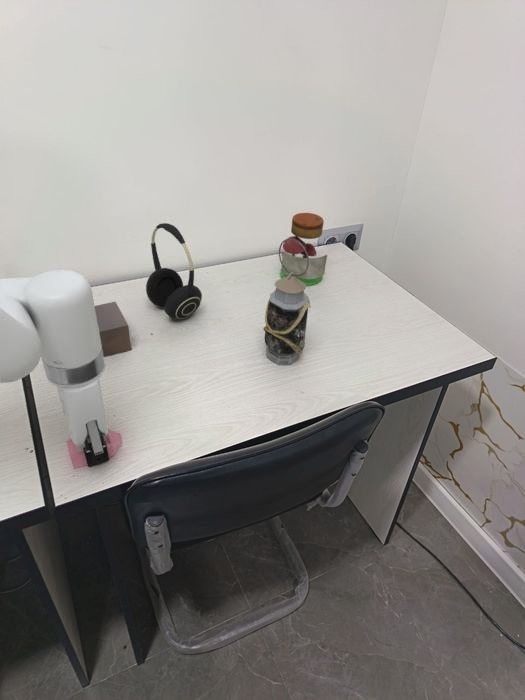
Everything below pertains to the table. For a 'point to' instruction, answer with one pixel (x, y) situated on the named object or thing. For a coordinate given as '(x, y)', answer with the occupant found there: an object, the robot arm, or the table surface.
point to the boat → (77, 451)
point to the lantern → (286, 318)
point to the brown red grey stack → (307, 229)
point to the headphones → (172, 283)
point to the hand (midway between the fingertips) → (94, 451)
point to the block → (112, 329)
